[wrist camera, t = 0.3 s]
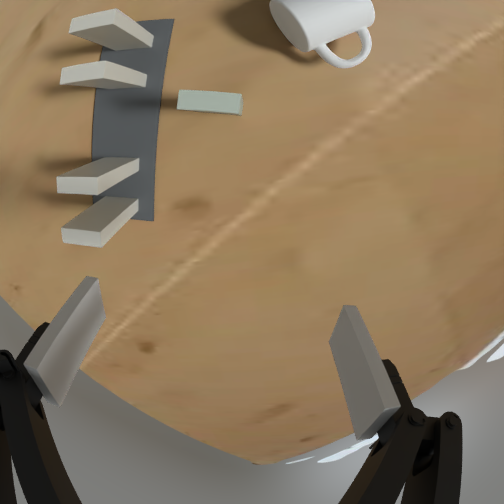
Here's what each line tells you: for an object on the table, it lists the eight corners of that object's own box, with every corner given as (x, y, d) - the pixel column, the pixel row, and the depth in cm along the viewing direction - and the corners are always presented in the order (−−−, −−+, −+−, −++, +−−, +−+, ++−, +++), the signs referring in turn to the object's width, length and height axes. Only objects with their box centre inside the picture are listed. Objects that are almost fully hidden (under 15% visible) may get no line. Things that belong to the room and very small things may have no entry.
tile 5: (105, 196, 36) (61, 227, 26) (138, 198, 37) (100, 232, 26) (105, 207, 37) (63, 242, 27) (138, 210, 38) (101, 247, 27)
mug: (266, 13, 26) (271, -11, 19) (327, -11, 24) (344, -34, 17) (317, 83, 31) (335, 75, 24) (375, 56, 28) (403, 46, 21)
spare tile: (201, 98, 31) (179, 89, 21) (243, 102, 32) (241, 94, 21) (199, 111, 32) (176, 109, 22) (241, 115, 33) (238, 113, 22)
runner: (107, 26, 25) (107, 25, 25) (174, 19, 26) (173, 18, 26) (94, 214, 38) (93, 215, 38) (153, 220, 39) (153, 221, 38)
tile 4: (105, 157, 34) (56, 176, 23) (139, 157, 34) (97, 177, 24) (105, 169, 35) (57, 193, 24) (138, 170, 35) (97, 194, 24)
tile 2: (111, 77, 29) (61, 68, 18) (147, 74, 29) (105, 60, 18) (109, 89, 30) (59, 84, 19) (145, 87, 30) (103, 78, 19)
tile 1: (117, 39, 26) (72, 18, 15) (153, 35, 27) (116, 8, 16) (115, 50, 27) (68, 33, 16) (151, 47, 27) (113, 23, 17)
